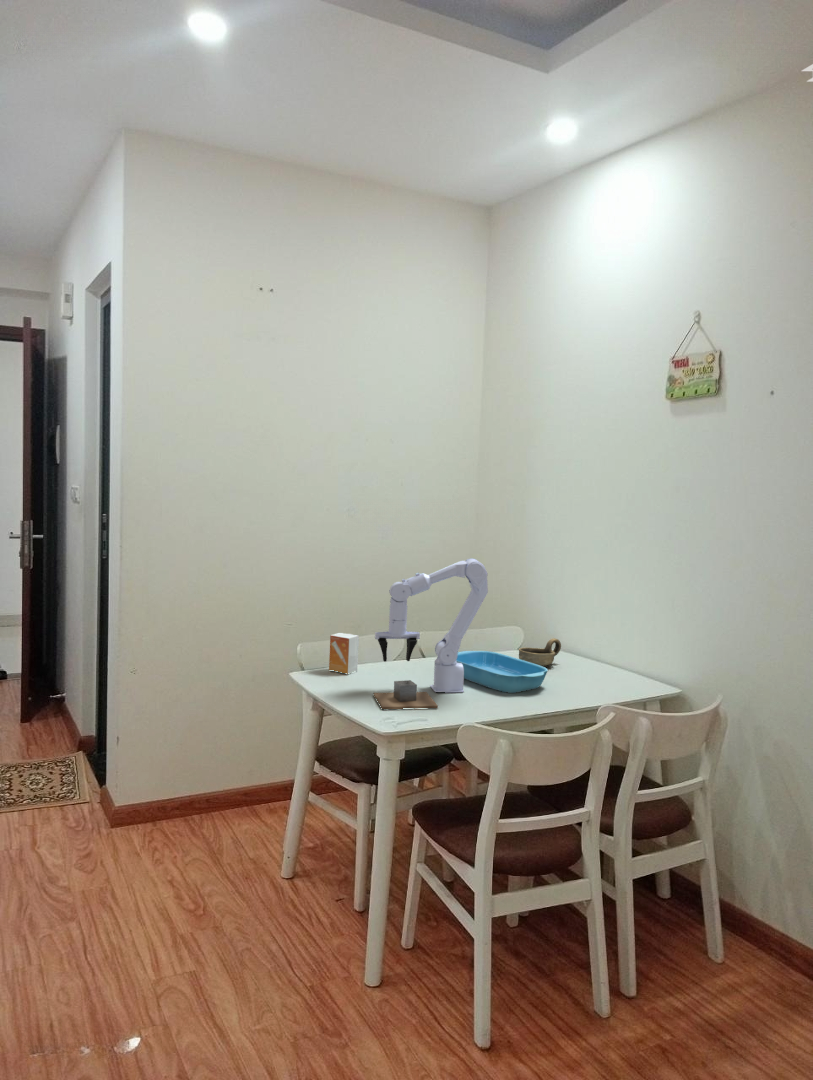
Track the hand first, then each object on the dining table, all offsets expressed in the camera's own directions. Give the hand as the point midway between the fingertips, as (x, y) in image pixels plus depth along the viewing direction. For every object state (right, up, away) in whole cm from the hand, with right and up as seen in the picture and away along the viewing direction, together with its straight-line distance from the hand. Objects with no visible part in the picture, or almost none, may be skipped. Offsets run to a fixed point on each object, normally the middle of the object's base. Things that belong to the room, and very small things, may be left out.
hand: (396, 660), depth 263 cm
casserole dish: (+34, -10, +16) cm, 39 cm away
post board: (+3, -11, -14) cm, 18 cm away
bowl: (+53, -8, +41) cm, 68 cm away
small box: (-19, -7, +20) cm, 29 cm away
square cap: (+3, -10, -14) cm, 17 cm away
